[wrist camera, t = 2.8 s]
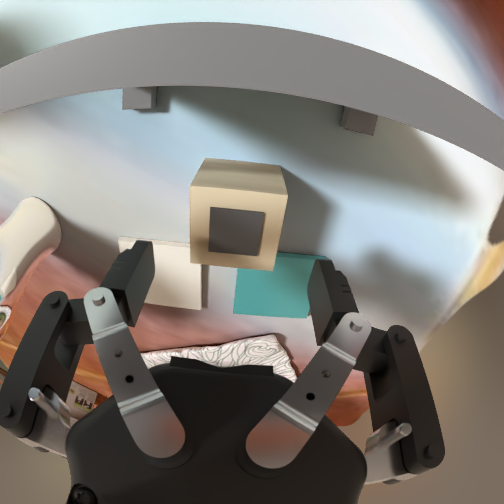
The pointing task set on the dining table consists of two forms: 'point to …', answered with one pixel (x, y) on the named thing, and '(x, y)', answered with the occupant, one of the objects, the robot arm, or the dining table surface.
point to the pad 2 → (276, 288)
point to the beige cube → (236, 214)
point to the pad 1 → (172, 274)
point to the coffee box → (79, 401)
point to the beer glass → (24, 251)
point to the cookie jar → (232, 355)
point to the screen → (255, 76)
